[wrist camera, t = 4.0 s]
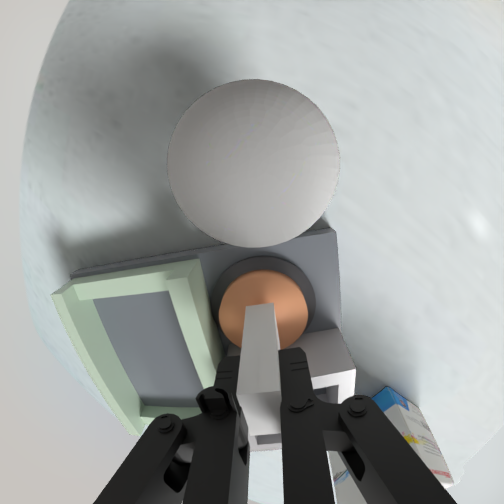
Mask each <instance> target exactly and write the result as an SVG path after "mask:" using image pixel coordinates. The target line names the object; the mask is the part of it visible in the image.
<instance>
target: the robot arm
mask: <svg viewBox="0 0 504 504" xmlns="http://www.w3.org/2000/svg"><path fill="white" fill-rule="evenodd" d="M195 399H196V401H197V403H198V405H199V408H200V410H201V412H202V413H201V414H199V415H197V416H194V417H190V418H186V419H180V418H179V416H177V415H175V414H169V413H167V414H162V415H160V416H158V417H156V418H155V419H154V420H153V421H152V422H151V423H150V425H149V426H148V428H147V429H146V430H145V432H144V433H143V435H142V436H141V438H140V439H139V440H138V442H137V443H136V445H135V446H134V448H133V449H132V450H131V452H130V453H129V455H128V456H127V457H126V459H125V460H124V462H123V463H122V464H121V466H120V467H119V469H118V470H117V471H116V473H115V474H114V476H113V477H112V478H111V480H110V481H109V483H108V484H107V485H106V487H105V488H104V489H103V491H102V492H101V494H100V495H99V496H98V498H97V499H96V501H95V502H94V503H93V504H181V503H182V501H183V504H247V500H248V479H249V458H250V444H249V441H248V431H249V434H250V436H254V435H267V434H278V433H281V439H282V462H283V488H284V504H335V501H334V495H333V488H332V482H331V476H330V470H329V464H328V458H327V452H326V451H337V452H338V454H339V456H340V458H341V459H342V461H343V463H344V465H345V466H346V468H347V470H348V472H349V473H350V475H351V477H352V479H353V480H354V482H355V484H356V485H357V487H358V489H359V491H360V492H361V494H362V496H363V497H364V499H365V501H366V503H367V504H457V503H456V502H455V500H454V499H453V498H452V497H451V495H450V494H449V493H448V492H447V491H446V489H445V488H444V487H443V486H442V484H441V483H440V482H439V481H438V479H437V478H436V477H435V476H434V474H433V473H432V472H431V471H430V469H429V468H428V467H427V466H426V464H425V463H424V462H423V461H422V460H421V458H420V457H419V456H418V455H417V453H416V452H415V451H414V450H413V448H412V447H411V446H410V445H409V443H408V442H407V441H406V440H405V438H404V437H403V436H402V435H401V434H400V432H399V431H398V430H397V429H396V427H395V426H394V425H393V424H392V422H391V421H390V420H389V419H388V417H387V416H386V415H385V414H384V412H383V411H382V410H381V409H380V408H379V406H378V405H377V404H376V403H375V401H374V400H372V399H371V398H370V397H367V396H364V395H355V396H351V397H348V398H347V399H345V400H344V401H343V402H342V403H341V404H338V403H327V402H324V401H321V400H320V399H319V398H317V397H316V395H315V393H314V391H313V386H312V381H311V376H310V371H309V366H308V362H307V357H306V353H305V352H304V351H303V350H302V349H301V348H300V347H295V348H289V349H282V350H280V341H279V335H278V328H277V322H276V316H275V309H274V303H266V304H259V305H252V306H246V311H245V320H244V329H243V338H242V347H241V355H237V356H227V357H223V358H222V360H221V361H220V362H219V364H218V367H217V373H216V376H215V381H214V386H211V387H208V388H205V389H203V390H202V391H201V392H199V393H198V395H197V397H196V398H195Z"/></svg>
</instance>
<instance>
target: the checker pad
mask: <svg viewBox="0 0 504 504" xmlns="http://www.w3.org/2000/svg"><path fill="white" fill-rule="evenodd" d="M266 303H274V309H275V316H276V322H277V328H278V335H279V341H280V350H282V349H284V348H286V347H288V346H290V345H291V344H293V343H294V342H295V341H296V340H297V339H298V338H299V337H300V336H301V334H302V333H303V331H304V329H305V327H306V324H307V320H308V310H307V305H306V302H305V299H304V296H303V293H302V291H301V289H300V287H299V286H298V285H297V283H296V282H295V281H294V280H292V279H291V278H290V277H288V276H287V275H285V274H283V273H280V272H277V271H274V270H265V269H261V270H254V271H250V272H247V273H244V274H242V275H240V276H239V277H237V278H236V279H235V280H234V281H232V282H231V283H230V285H229V286H228V287H227V289H226V290H225V293H224V295H223V298H222V302H221V305H220V309H219V321H220V325H221V328H222V330H223V332H224V334H225V335H226V337H227V338H228V339H229V340H230V341H231V342H232V343H234V344H235V345H237V346H238V347H240V348H241V347H242V338H243V329H244V320H245V311H246V306H252V305H259V304H266Z"/></svg>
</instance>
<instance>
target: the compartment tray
mask: <svg viewBox="0 0 504 504" xmlns="http://www.w3.org/2000/svg"><path fill="white" fill-rule="evenodd" d="M261 269H265V270H274V271H277V272H280V273H283V274H285V275H287V276H288V277H290V278H291V279H292V280H294V281H295V282H296V283H297V285H298V286H299V287H300V289H301V291H302V293H303V296H304V299H305V302H306V305H307V310H308V320H307V324H306V327H305V329H304V331H303V333H302V334H301V336H300V337H299V338H298V339H297V340H296V341H295V342H294V343H293V344H291V345H290V346H288V347H286V348H284V349H289V348H295V347H300V348H301V349H302V350H303V351H304V352H305V353H306V357H307V362H308V366H309V371H310V376H311V381H312V386H313V391H314V393H315V395H316V397H317V398H319V399H320V400H321V401H324V402H327V403H338V404H341V403H342V402H343V401H344V400H345V399H347V398H348V397H351V396H354V388H355V376H356V367H355V365H354V363H353V360H352V358H351V355H350V353H349V351H348V348H347V346H346V344H345V341H344V339H343V337H342V334H341V297H340V276H339V260H338V247H337V236H336V231H335V230H333V229H332V228H325V229H319V230H312V231H305V232H303V233H301V234H300V235H298V236H297V237H295V238H293V239H291V240H289V241H286V242H283V243H280V244H277V245H273V246H267V247H258V248H247V247H240V246H234V245H230V244H224V245H217V246H211V247H205V248H199V249H193V250H187V251H181V252H176V253H170V254H164V255H158V256H152V257H146V258H141V259H135V260H129V261H124V262H118V263H112V264H107V265H101V266H96V267H90V268H85V269H79V270H77V271H75V272H74V273H72V274H71V275H70V277H71V281H69V282H68V283H66V284H65V285H64V286H62V287H61V288H59V289H58V290H57V291H55V292H54V293H52V294H51V297H52V300H53V302H54V305H55V307H56V309H57V312H58V314H59V317H60V319H61V321H62V323H63V325H64V328H65V330H66V332H67V334H68V336H69V338H70V340H71V342H72V344H73V346H74V348H75V350H76V352H77V354H78V356H79V358H80V359H81V361H82V363H83V365H84V367H85V368H86V370H87V372H88V374H89V375H90V377H91V379H92V380H93V382H94V384H95V385H96V387H97V389H98V390H99V392H100V393H101V395H102V396H103V398H104V399H105V401H106V402H107V404H108V405H109V407H110V408H111V410H112V411H113V413H114V414H115V415H116V417H117V418H118V420H119V421H120V422H121V424H122V425H123V426H124V428H125V429H126V430H127V432H128V433H129V434H130V435H137V436H141V434H142V431H143V428H144V426H145V424H146V425H150V423H151V422H152V421H153V420H154V419H155V418H156V417H158V416H160V415H162V414H167V413H169V414H175V415H177V416H179V418H180V419H186V418H190V417H194V416H197V415H199V414H201V413H202V412H201V410H200V408H199V405H198V403H197V401H196V399H195V398H196V397H197V395H198V393H199V392H201V391H202V390H203V389H205V388H208V387H211V386H214V381H215V376H216V373H217V367H218V364H219V362H220V361H221V360H222V358H223V357H227V356H237V355H241V348H240V347H238V346H237V345H235V344H234V343H232V342H231V341H230V340H229V339H228V338H227V337H226V335H225V334H224V332H223V330H222V328H221V325H220V321H219V309H220V305H221V302H222V298H223V295H224V293H225V290H226V289H227V287H228V286H229V285H230V283H231V282H232V281H234V280H235V279H236V278H237V277H239V276H240V275H242V274H244V273H247V272H250V271H254V270H261ZM248 441H249V444H250V452H252V451H267V450H278V449H282V439H281V433H278V434H267V435H254V436H250V434H249V431H248Z"/></svg>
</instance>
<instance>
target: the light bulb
mask: <svg viewBox="0 0 504 504" xmlns="http://www.w3.org/2000/svg"><path fill="white" fill-rule="evenodd" d="M339 172H340V155H339V149H338V143H337V140H336V137H335V134H334V131H333V129H332V127H331V125H330V124H329V122H328V120H327V118H326V117H325V116H324V114H323V113H322V112H321V110H320V109H319V108H318V107H317V106H316V105H315V104H314V103H313V102H312V101H311V100H310V99H309V98H307V97H306V96H304V95H303V94H301V93H300V92H298V91H297V90H295V89H293V88H290V87H288V86H286V85H284V84H280V83H277V82H273V81H268V80H260V79H249V80H239V81H234V82H230V83H227V84H224V85H221V86H218V87H216V88H214V89H212V90H211V91H209V92H207V93H205V94H204V95H203V96H201V97H200V98H199V99H197V100H196V101H195V102H194V103H193V104H192V105H191V106H190V107H189V108H188V109H187V110H186V111H185V113H184V114H183V116H182V117H181V119H180V120H179V122H178V123H177V125H176V127H175V130H174V132H173V134H172V137H171V140H170V144H169V148H168V156H167V173H168V178H169V183H170V187H171V190H172V193H173V195H174V198H175V200H176V202H177V203H178V205H179V207H180V209H181V210H182V212H183V213H184V214H185V215H186V217H187V218H188V219H189V220H190V221H191V222H192V223H193V224H194V225H195V226H196V227H197V228H198V229H200V230H201V231H203V232H204V233H206V234H207V235H209V236H210V237H212V238H215V239H217V240H219V241H221V242H224V243H227V244H230V245H234V246H240V247H247V248H258V247H267V246H273V245H277V244H280V243H283V242H286V241H289V240H291V239H293V238H295V237H297V236H298V235H300V234H301V233H303V232H304V231H306V230H307V229H308V228H310V227H311V226H312V225H313V224H314V223H315V222H316V221H317V220H318V219H319V218H320V217H321V215H322V214H323V213H324V211H325V210H326V209H327V207H328V205H329V204H330V202H331V200H332V198H333V196H334V193H335V190H336V187H337V184H338V179H339Z"/></svg>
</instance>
